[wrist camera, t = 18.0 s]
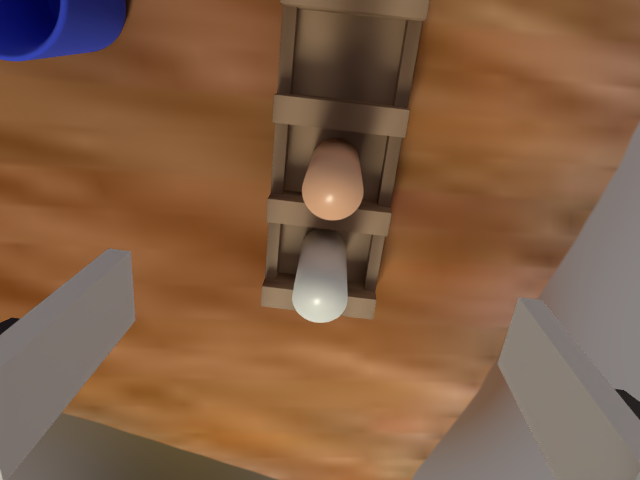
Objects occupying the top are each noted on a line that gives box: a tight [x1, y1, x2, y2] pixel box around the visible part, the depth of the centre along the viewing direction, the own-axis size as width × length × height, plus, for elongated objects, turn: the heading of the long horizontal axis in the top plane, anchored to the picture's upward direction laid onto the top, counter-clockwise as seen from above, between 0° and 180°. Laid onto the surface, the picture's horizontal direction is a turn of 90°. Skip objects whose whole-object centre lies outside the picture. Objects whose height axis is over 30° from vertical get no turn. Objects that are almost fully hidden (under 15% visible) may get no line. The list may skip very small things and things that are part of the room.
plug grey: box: [292, 228, 348, 323], centre depth 36 cm, size 4×4×9 cm
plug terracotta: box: [302, 138, 364, 220], centre depth 33 cm, size 4×4×9 cm
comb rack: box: [261, 0, 429, 319], centre depth 36 cm, size 10×26×4 cm, turn 174°
